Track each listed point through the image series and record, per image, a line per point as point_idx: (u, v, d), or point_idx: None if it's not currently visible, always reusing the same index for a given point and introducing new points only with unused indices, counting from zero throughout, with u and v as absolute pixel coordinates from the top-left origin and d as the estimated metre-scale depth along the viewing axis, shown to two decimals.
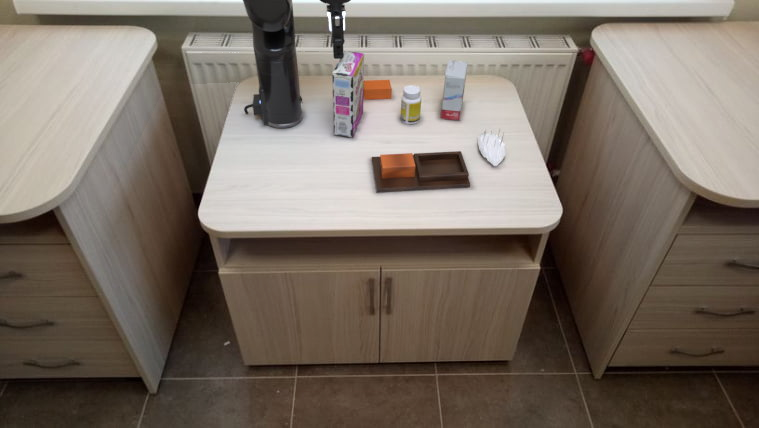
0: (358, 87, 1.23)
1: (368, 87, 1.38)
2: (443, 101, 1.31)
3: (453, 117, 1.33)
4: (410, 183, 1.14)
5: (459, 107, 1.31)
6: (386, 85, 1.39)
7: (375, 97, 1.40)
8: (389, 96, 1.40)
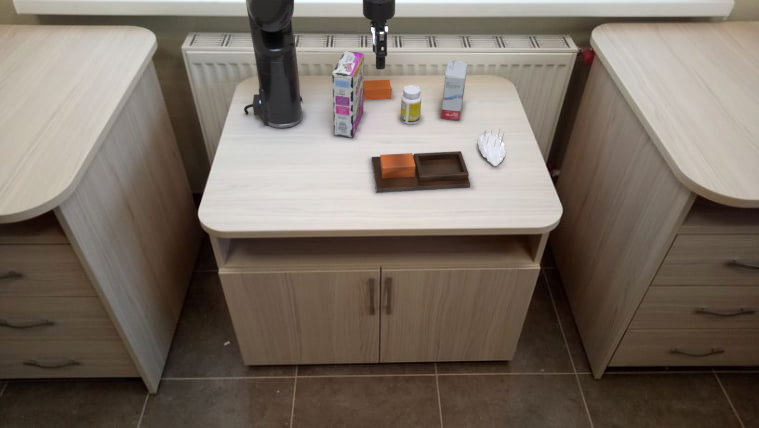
0: (358, 87, 1.23)
1: (368, 87, 1.38)
2: (443, 101, 1.31)
3: (453, 117, 1.33)
4: (410, 183, 1.14)
5: (459, 107, 1.31)
6: (386, 85, 1.39)
7: (375, 97, 1.40)
8: (389, 96, 1.40)
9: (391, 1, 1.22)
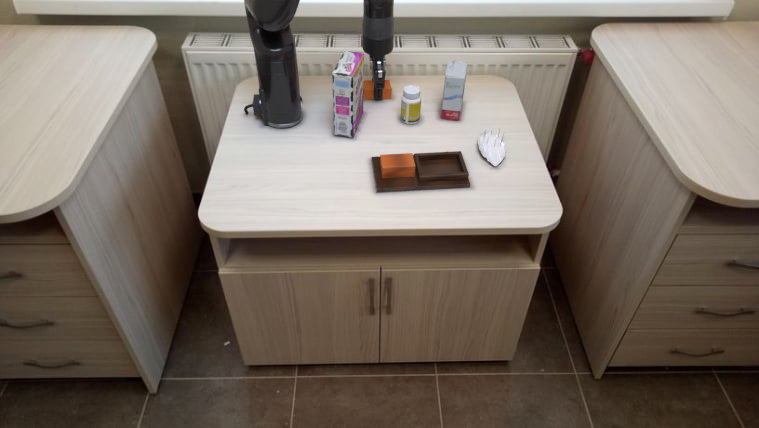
0: (358, 87, 1.23)
1: (368, 87, 1.38)
2: (443, 101, 1.31)
3: (453, 117, 1.33)
4: (410, 183, 1.14)
5: (459, 107, 1.31)
6: (386, 85, 1.39)
7: None
8: (389, 96, 1.40)
9: (389, 38, 1.28)
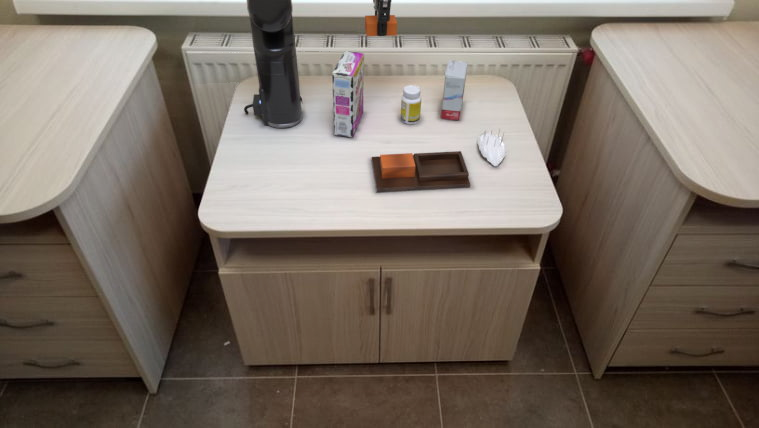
0: (358, 87, 1.23)
1: (371, 21, 1.25)
2: (443, 101, 1.31)
3: (453, 117, 1.33)
4: (410, 183, 1.14)
5: (459, 107, 1.31)
6: (391, 19, 1.26)
7: None
8: (394, 32, 1.26)
9: None
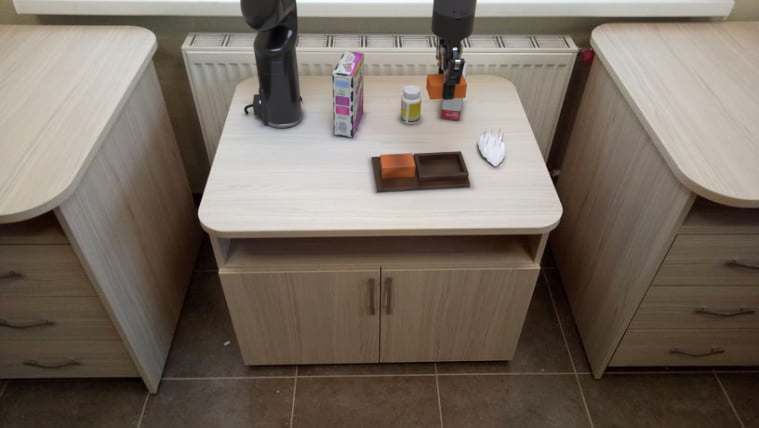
0: (358, 87, 1.23)
1: (435, 82, 1.04)
2: (443, 101, 1.31)
3: (453, 117, 1.33)
4: (410, 183, 1.14)
5: (459, 107, 1.31)
6: None
7: None
8: (463, 94, 1.06)
9: (471, 15, 0.94)
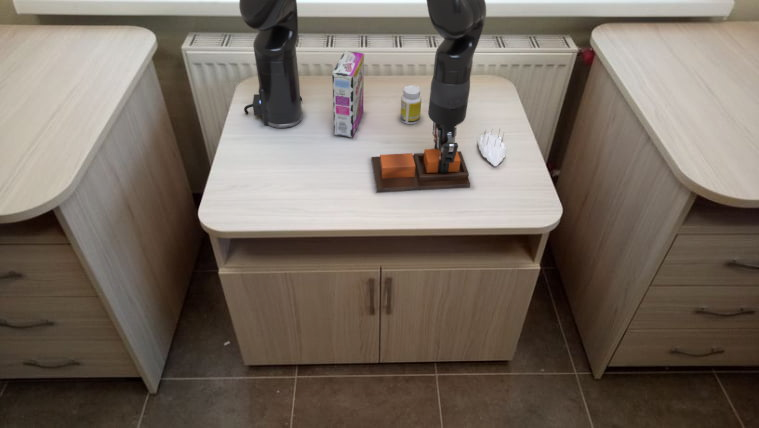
0: (358, 87, 1.23)
1: (431, 158, 1.14)
2: None
3: None
4: (410, 183, 1.14)
5: None
6: None
7: None
8: (457, 169, 1.16)
9: (464, 105, 1.04)
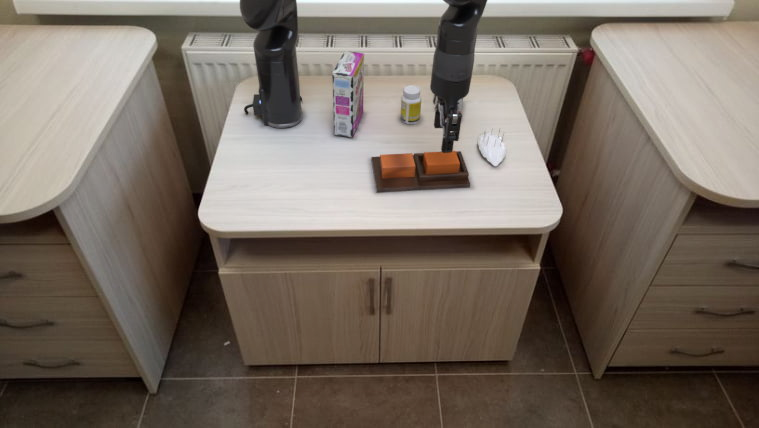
0: (358, 87, 1.23)
1: (431, 161, 1.15)
2: None
3: None
4: (410, 183, 1.14)
5: None
6: (453, 158, 1.16)
7: (439, 173, 1.16)
8: (456, 171, 1.16)
9: (468, 78, 1.00)
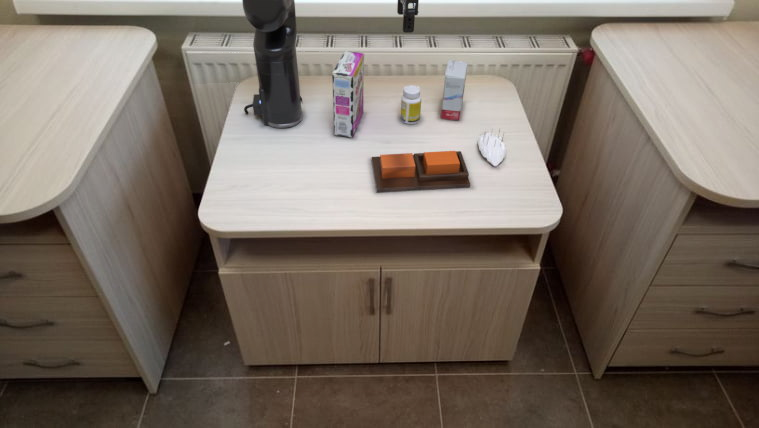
0: (358, 87, 1.23)
1: (431, 161, 1.15)
2: (443, 101, 1.31)
3: (453, 117, 1.33)
4: (410, 183, 1.14)
5: (459, 107, 1.31)
6: (453, 158, 1.16)
7: (439, 173, 1.16)
8: (456, 171, 1.16)
9: None
